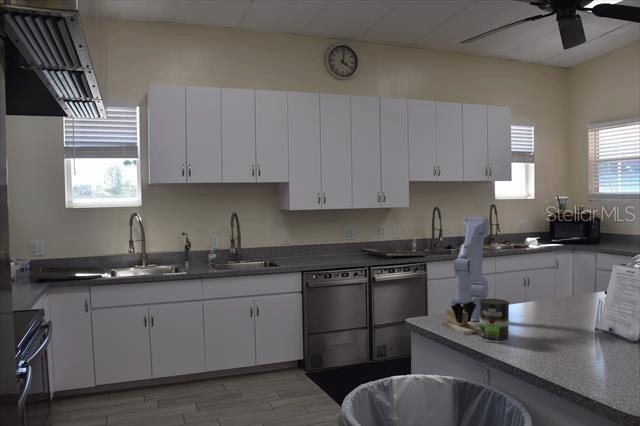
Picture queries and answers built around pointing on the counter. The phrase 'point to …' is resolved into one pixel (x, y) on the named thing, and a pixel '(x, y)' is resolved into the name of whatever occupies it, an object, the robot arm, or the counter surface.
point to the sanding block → (452, 318)
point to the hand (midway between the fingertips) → (463, 322)
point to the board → (464, 327)
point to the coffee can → (494, 320)
